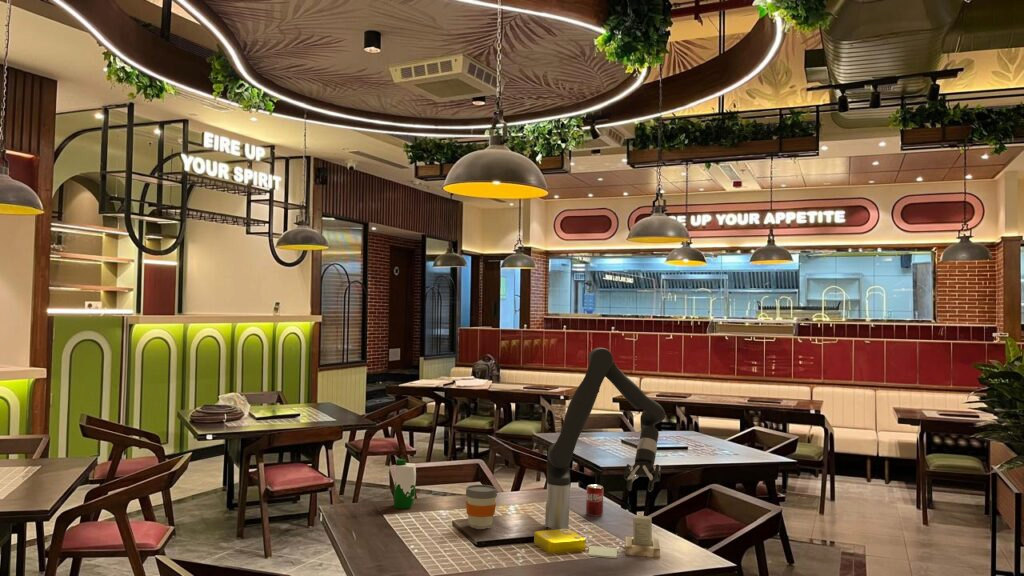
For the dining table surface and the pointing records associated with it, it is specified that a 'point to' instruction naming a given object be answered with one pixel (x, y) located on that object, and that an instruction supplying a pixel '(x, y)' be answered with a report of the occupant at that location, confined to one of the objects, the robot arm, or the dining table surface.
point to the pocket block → (642, 548)
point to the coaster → (602, 552)
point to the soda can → (594, 500)
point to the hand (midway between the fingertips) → (639, 490)
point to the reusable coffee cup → (480, 504)
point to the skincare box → (642, 530)
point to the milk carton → (404, 484)
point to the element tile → (559, 541)
